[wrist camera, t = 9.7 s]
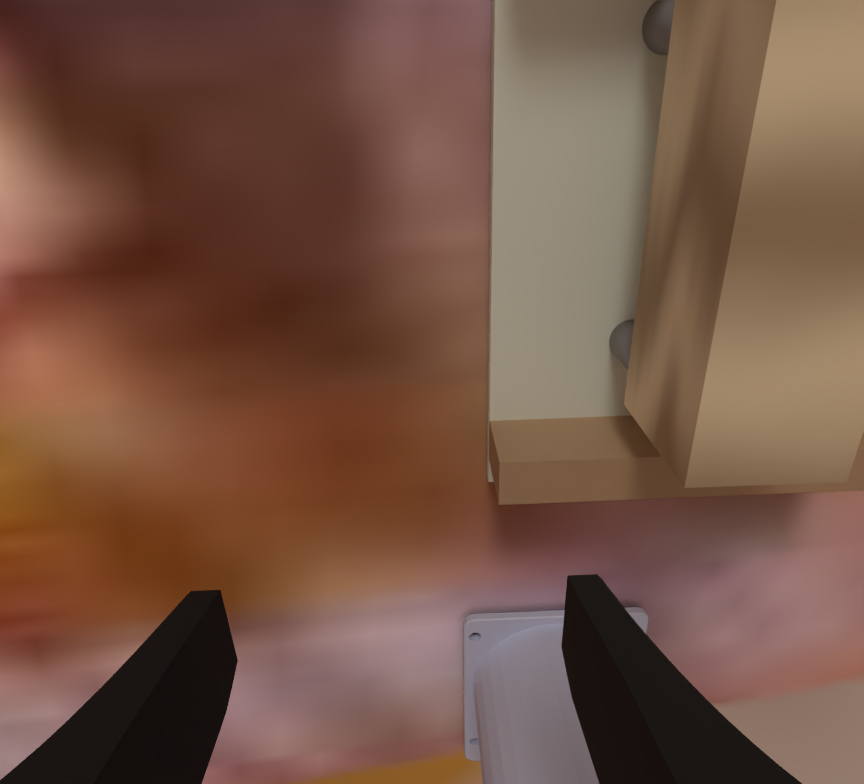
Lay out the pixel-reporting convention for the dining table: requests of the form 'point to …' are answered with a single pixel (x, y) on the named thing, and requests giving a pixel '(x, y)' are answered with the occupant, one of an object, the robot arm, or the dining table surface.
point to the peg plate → (576, 251)
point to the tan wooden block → (755, 247)
